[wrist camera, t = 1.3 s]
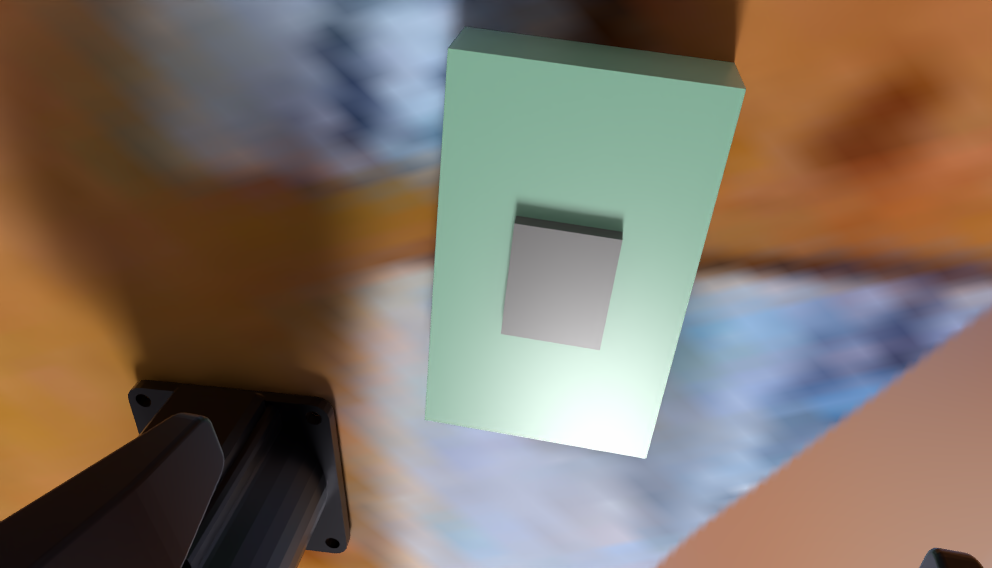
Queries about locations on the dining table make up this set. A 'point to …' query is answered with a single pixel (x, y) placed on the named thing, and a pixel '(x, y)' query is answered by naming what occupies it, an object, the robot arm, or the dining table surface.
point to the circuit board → (570, 232)
